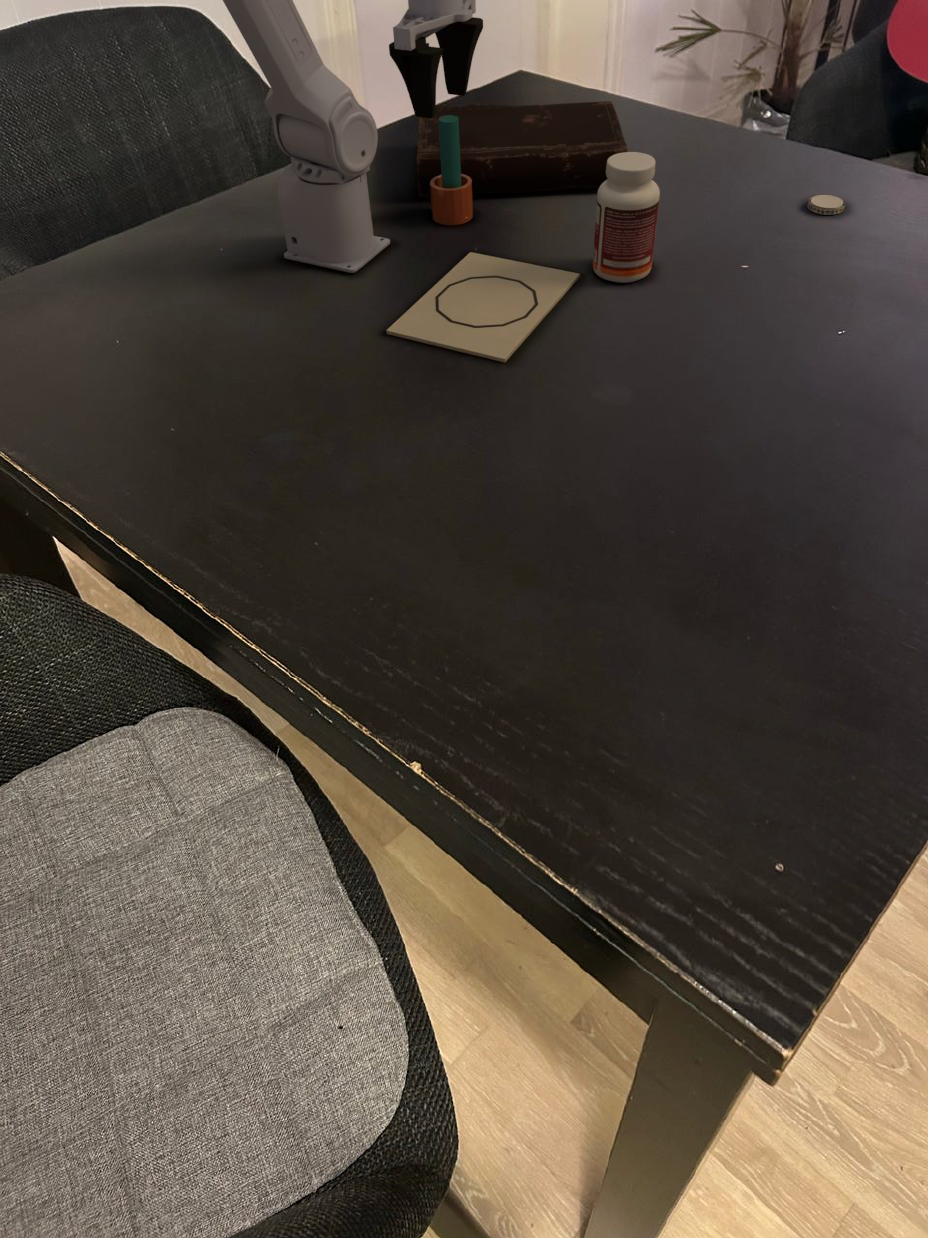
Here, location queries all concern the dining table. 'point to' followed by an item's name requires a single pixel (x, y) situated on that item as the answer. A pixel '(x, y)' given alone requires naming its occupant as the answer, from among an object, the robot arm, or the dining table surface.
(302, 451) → the dining table surface
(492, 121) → the diary
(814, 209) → the beige bottle cap
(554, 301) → the sketch pad
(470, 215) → the pen cup
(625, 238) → the pill bottle
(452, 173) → the marker
